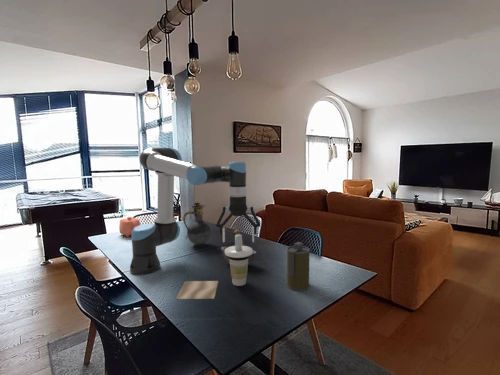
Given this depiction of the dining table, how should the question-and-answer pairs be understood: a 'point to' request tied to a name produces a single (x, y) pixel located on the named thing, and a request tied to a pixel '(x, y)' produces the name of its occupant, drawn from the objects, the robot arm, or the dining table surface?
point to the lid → (238, 249)
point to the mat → (198, 290)
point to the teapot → (128, 226)
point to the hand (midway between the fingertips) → (238, 241)
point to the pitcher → (198, 227)
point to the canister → (298, 267)
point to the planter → (242, 245)
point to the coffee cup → (239, 270)
